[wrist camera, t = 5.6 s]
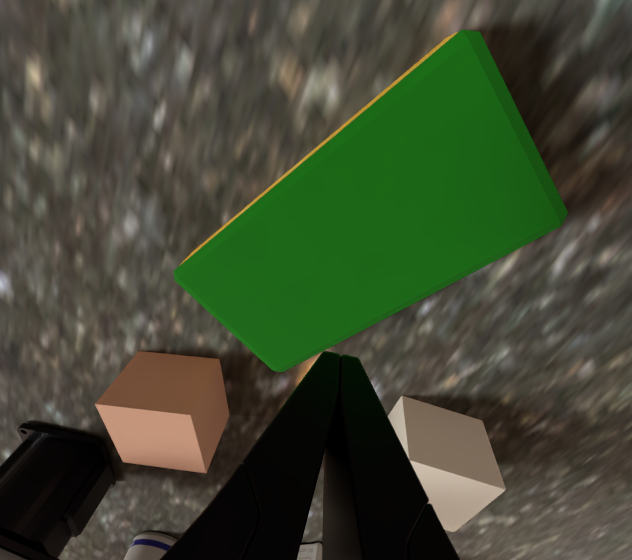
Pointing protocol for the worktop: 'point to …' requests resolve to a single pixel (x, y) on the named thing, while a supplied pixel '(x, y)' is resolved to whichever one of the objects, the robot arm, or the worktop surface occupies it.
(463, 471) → the cream block
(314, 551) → the supplement box
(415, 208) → the dish sponge
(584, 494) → the worktop surface
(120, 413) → the terracotta block
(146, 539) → the energy drink
